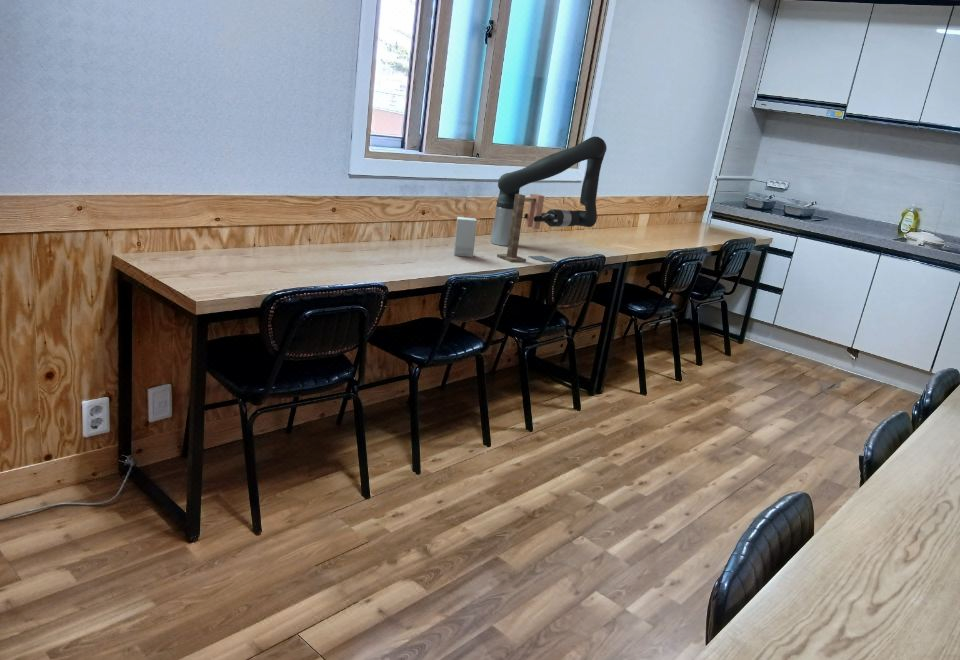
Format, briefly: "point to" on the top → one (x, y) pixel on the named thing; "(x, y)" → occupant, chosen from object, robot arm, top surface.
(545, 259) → the mat
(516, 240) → the stand
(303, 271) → the top surface
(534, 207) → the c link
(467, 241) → the skincare box
